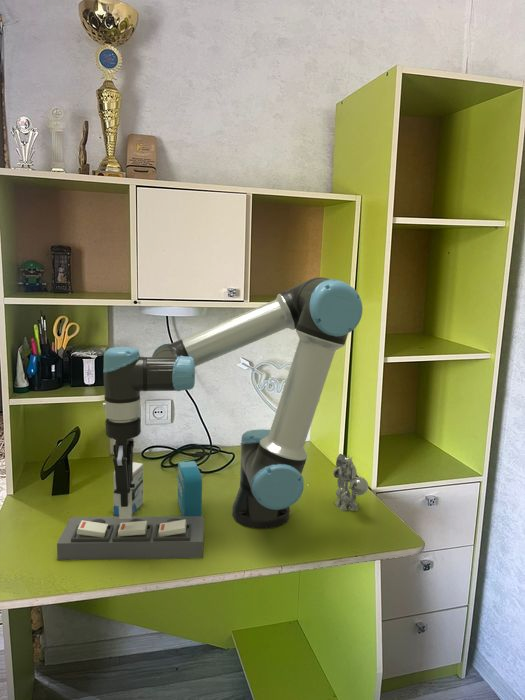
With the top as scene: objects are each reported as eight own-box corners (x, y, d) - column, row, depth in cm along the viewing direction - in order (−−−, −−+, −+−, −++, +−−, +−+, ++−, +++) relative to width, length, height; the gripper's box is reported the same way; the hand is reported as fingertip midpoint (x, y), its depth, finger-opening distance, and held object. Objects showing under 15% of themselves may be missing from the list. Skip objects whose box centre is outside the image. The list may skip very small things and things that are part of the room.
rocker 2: (186, 523, 129) (185, 518, 129) (185, 532, 125) (184, 527, 125) (161, 528, 129) (160, 523, 128) (159, 537, 125) (158, 531, 125)
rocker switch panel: (203, 531, 137) (203, 513, 136) (202, 557, 125) (203, 538, 124) (71, 532, 134) (70, 514, 133) (57, 560, 122) (56, 540, 121)
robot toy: (371, 520, 146) (375, 466, 143) (350, 522, 144) (354, 468, 141) (346, 495, 159) (350, 446, 157) (327, 498, 158) (330, 448, 155)
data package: (177, 501, 152) (177, 460, 150) (193, 499, 154) (194, 459, 151) (184, 522, 141) (184, 478, 139) (201, 520, 142) (202, 476, 140)
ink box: (130, 517, 142) (130, 474, 140) (112, 515, 143) (112, 472, 141) (144, 503, 150) (144, 462, 148) (127, 501, 151) (126, 460, 149)
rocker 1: (107, 528, 128) (108, 523, 127) (103, 537, 124) (104, 532, 123) (80, 524, 127) (81, 519, 127) (76, 533, 123) (77, 528, 123)
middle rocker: (147, 525, 128) (147, 520, 128) (145, 534, 124) (144, 529, 124) (121, 527, 128) (120, 522, 128) (118, 536, 124) (117, 531, 124)
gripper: (110, 409, 127) (113, 504, 131) (99, 427, 114) (103, 532, 119) (143, 408, 128) (145, 503, 132) (136, 427, 115) (138, 531, 119)
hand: (125, 517), depth 125 cm, fingers closed
